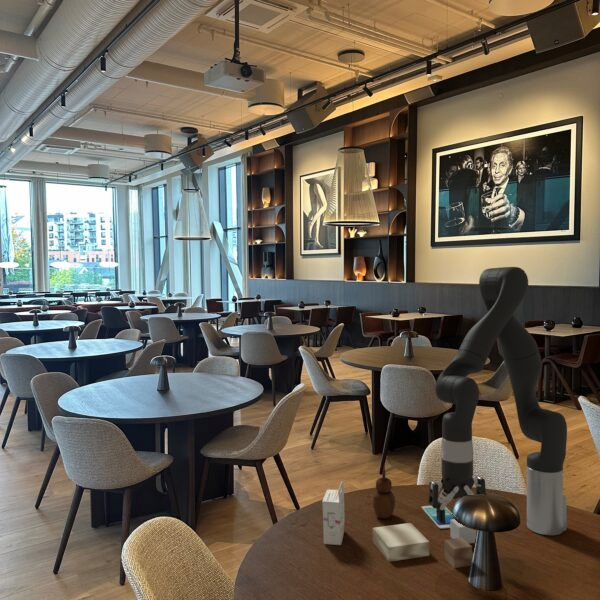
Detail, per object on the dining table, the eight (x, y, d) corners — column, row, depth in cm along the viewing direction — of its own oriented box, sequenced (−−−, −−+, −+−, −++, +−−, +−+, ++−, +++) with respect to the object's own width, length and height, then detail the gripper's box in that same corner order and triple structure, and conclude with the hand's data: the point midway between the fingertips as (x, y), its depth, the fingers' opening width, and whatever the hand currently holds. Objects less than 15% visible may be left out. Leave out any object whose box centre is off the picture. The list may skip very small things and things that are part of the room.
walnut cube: (461, 556, 138) (461, 537, 138) (471, 565, 133) (471, 546, 133) (444, 558, 137) (444, 539, 137) (453, 568, 132) (453, 549, 132)
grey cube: (466, 534, 149) (466, 517, 149) (475, 543, 144) (475, 525, 144) (450, 536, 148) (450, 519, 148) (459, 545, 143) (459, 527, 143)
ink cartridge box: (327, 529, 153) (326, 478, 153) (345, 531, 152) (344, 479, 152) (322, 544, 145) (321, 489, 144) (341, 545, 144) (340, 491, 143)
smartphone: (443, 504, 168) (464, 525, 153) (443, 507, 168) (464, 528, 153) (420, 506, 167) (439, 528, 152) (420, 508, 167) (439, 530, 152)
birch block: (410, 537, 149) (410, 522, 149) (429, 557, 138) (429, 541, 138) (372, 542, 146) (372, 527, 146) (388, 563, 136) (388, 547, 135)
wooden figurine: (380, 509, 166) (379, 461, 165) (398, 514, 162) (397, 464, 162) (369, 517, 160) (369, 467, 160) (387, 522, 157) (387, 471, 156)
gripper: (475, 449, 139) (475, 511, 140) (423, 454, 136) (424, 518, 137) (491, 458, 132) (492, 524, 132) (437, 464, 129) (438, 531, 129)
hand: (457, 521), depth 134 cm, fingers open, 8 cm apart
